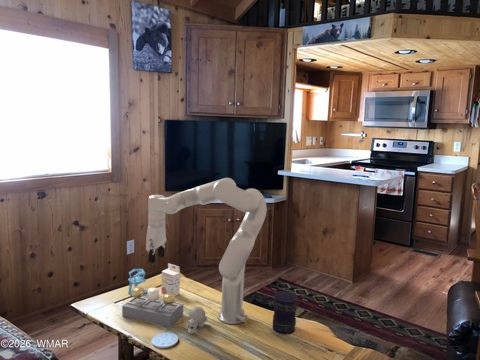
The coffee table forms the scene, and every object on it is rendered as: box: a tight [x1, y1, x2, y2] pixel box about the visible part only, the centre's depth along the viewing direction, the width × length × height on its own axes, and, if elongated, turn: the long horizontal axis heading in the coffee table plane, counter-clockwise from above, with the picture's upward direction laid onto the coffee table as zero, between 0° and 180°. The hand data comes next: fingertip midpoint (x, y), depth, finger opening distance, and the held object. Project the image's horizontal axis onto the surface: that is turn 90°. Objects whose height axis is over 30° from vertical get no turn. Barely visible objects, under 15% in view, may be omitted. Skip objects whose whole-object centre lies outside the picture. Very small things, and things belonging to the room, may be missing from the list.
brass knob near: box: [162, 293, 176, 304], centre depth 165 cm, size 5×5×3 cm
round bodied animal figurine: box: [186, 306, 208, 335], centre depth 159 cm, size 7×12×8 cm, turn 159°
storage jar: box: [272, 290, 298, 336], centre depth 161 cm, size 10×10×15 cm
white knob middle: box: [147, 287, 160, 301], centre depth 167 cm, size 5×5×4 cm
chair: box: [127, 268, 148, 296], centre depth 190 cm, size 8×8×12 cm
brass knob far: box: [131, 286, 145, 298], centre depth 170 cm, size 5×5×3 cm
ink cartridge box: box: [161, 262, 181, 297], centre depth 190 cm, size 9×5×15 cm, turn 58°
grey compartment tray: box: [121, 295, 184, 328], centre depth 168 cm, size 24×12×6 cm, turn 72°
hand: (156, 259), depth 172 cm, fingers open, 7 cm apart
